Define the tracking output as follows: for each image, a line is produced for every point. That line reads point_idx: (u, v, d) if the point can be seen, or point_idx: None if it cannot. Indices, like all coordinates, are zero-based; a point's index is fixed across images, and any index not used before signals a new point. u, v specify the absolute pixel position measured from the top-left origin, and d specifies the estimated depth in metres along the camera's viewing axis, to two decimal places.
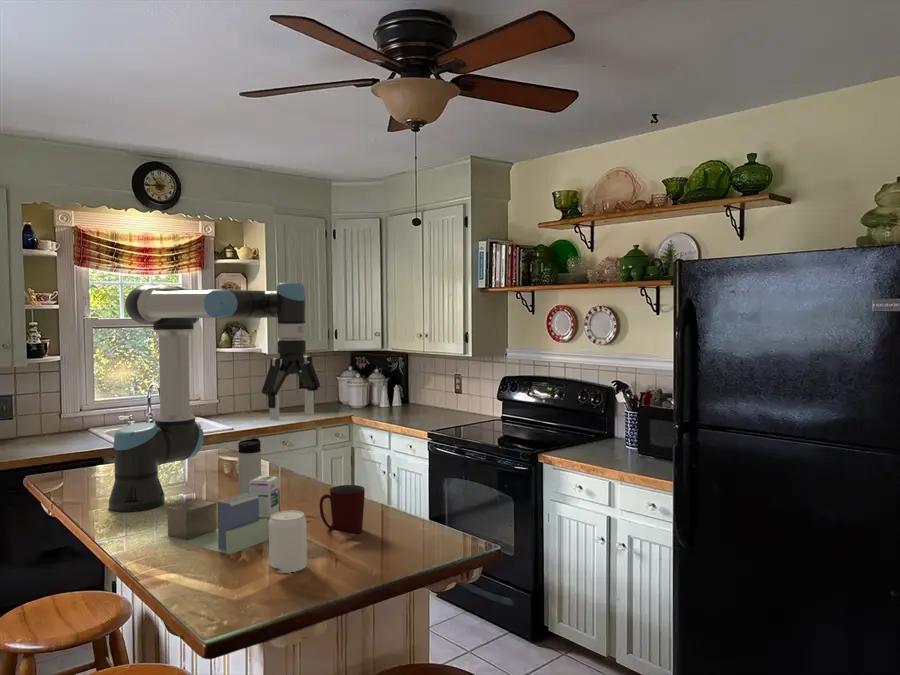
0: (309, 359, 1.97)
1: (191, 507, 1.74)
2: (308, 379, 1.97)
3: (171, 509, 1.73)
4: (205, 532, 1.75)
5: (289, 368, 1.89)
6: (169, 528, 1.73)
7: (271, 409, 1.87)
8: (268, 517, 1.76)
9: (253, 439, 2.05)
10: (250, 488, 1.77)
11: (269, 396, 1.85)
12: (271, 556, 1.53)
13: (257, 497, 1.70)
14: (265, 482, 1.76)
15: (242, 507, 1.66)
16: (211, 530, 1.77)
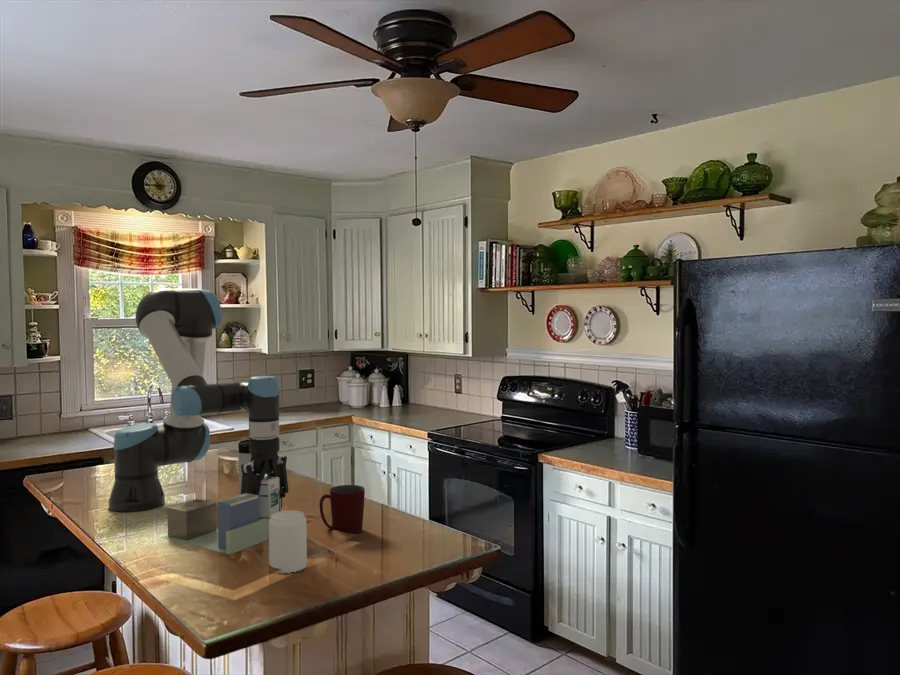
0: (283, 459, 1.83)
1: (191, 507, 1.74)
2: None
3: (171, 509, 1.73)
4: (205, 532, 1.75)
5: (263, 471, 1.76)
6: (169, 528, 1.73)
7: None
8: (268, 517, 1.76)
9: None
10: None
11: None
12: (271, 556, 1.53)
13: (257, 497, 1.70)
14: (265, 482, 1.76)
15: (242, 507, 1.66)
16: (211, 530, 1.77)
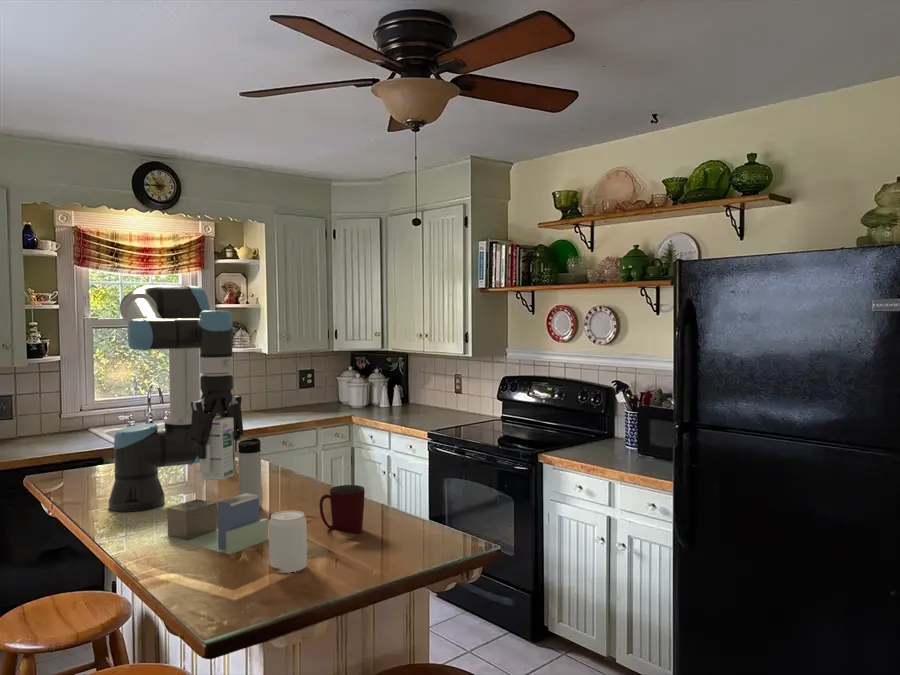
0: (238, 399, 1.74)
1: (191, 507, 1.74)
2: None
3: (171, 509, 1.73)
4: (205, 532, 1.75)
5: (214, 409, 1.67)
6: (169, 528, 1.73)
7: (201, 460, 1.67)
8: (220, 458, 1.67)
9: (253, 439, 2.05)
10: None
11: (199, 446, 1.66)
12: (271, 556, 1.53)
13: (257, 497, 1.70)
14: (217, 421, 1.67)
15: (242, 507, 1.66)
16: (211, 530, 1.77)
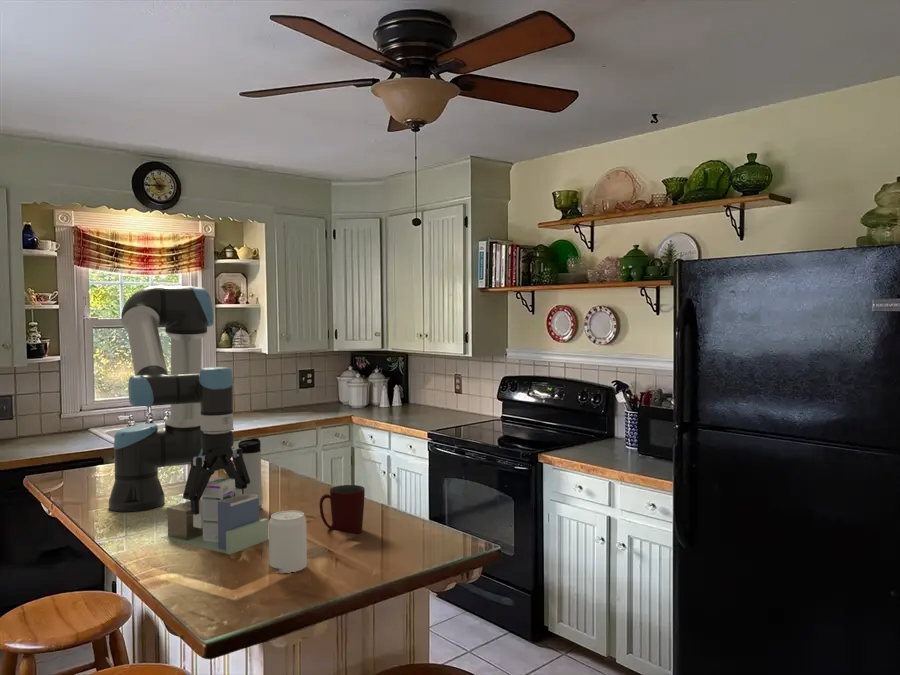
0: (239, 452, 1.75)
1: None
2: (236, 476, 1.74)
3: (171, 509, 1.73)
4: None
5: (214, 466, 1.67)
6: (169, 528, 1.73)
7: (195, 515, 1.66)
8: None
9: (253, 439, 2.05)
10: None
11: (192, 501, 1.64)
12: (271, 556, 1.53)
13: (257, 497, 1.70)
14: (217, 484, 1.68)
15: (242, 507, 1.66)
16: None
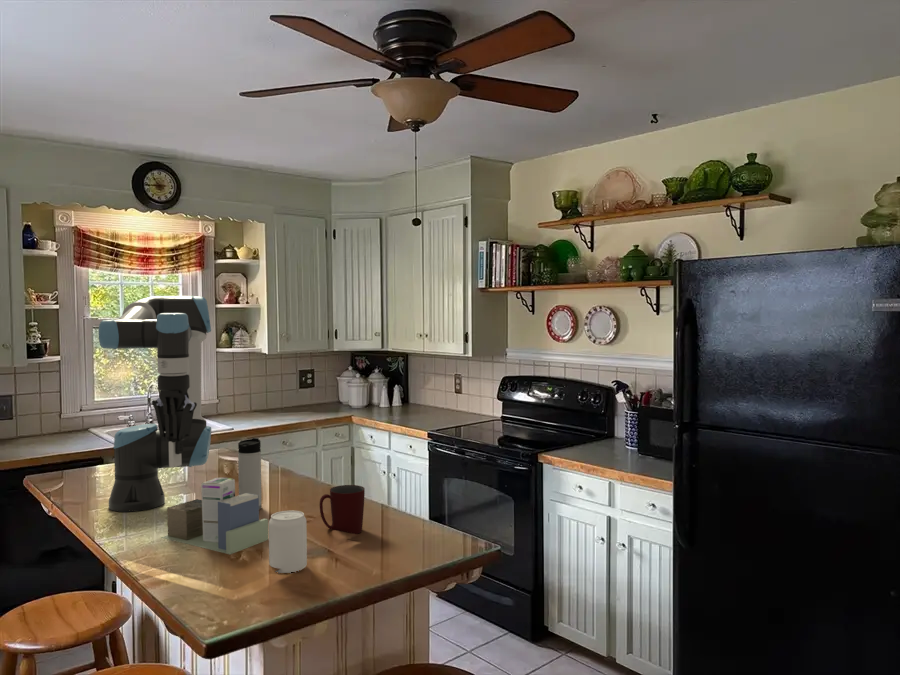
0: (186, 405, 1.75)
1: (191, 507, 1.74)
2: (174, 425, 1.77)
3: (171, 509, 1.73)
4: None
5: (164, 407, 1.77)
6: (169, 528, 1.73)
7: None
8: None
9: (253, 439, 2.05)
10: (202, 490, 1.69)
11: None
12: (271, 556, 1.53)
13: (257, 497, 1.70)
14: (217, 484, 1.68)
15: (242, 507, 1.66)
16: None
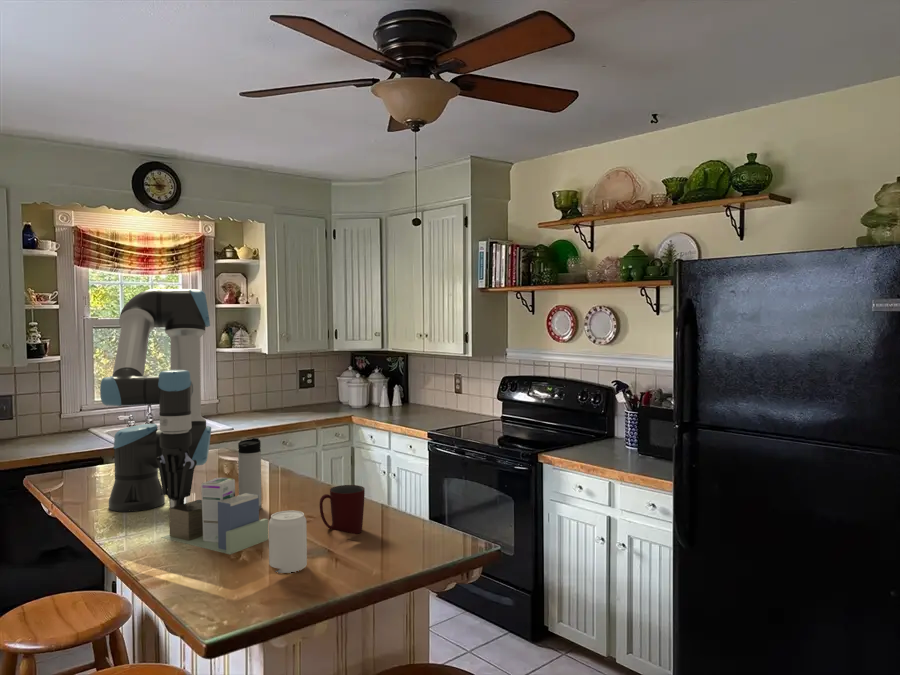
0: (186, 464, 1.74)
1: (193, 507, 1.73)
2: (175, 483, 1.76)
3: (173, 509, 1.72)
4: None
5: (166, 464, 1.77)
6: (171, 528, 1.73)
7: None
8: None
9: (253, 439, 2.05)
10: (202, 490, 1.69)
11: None
12: (271, 556, 1.53)
13: (257, 497, 1.70)
14: (217, 484, 1.68)
15: (242, 507, 1.66)
16: None
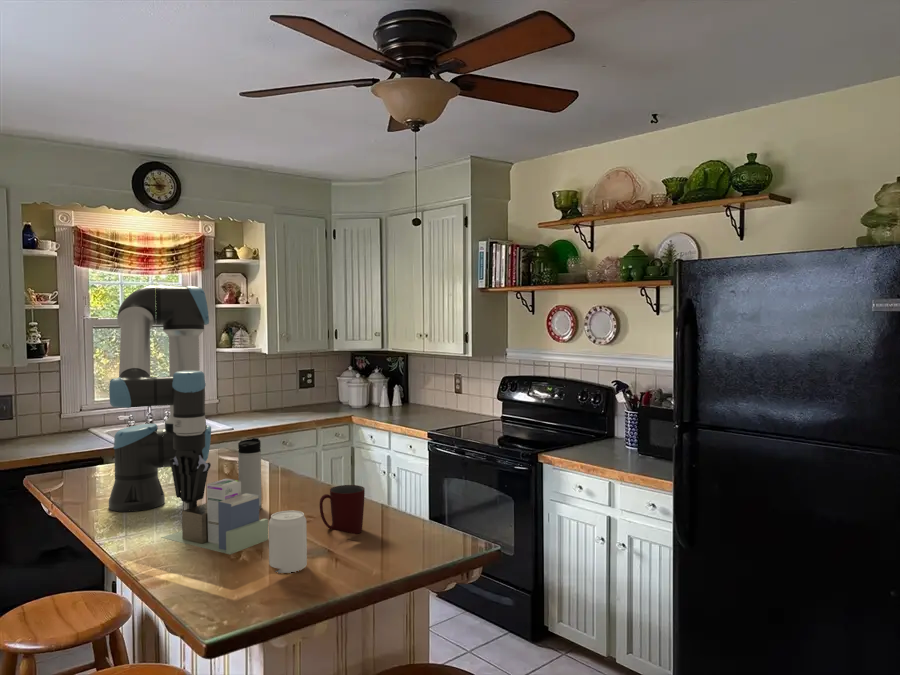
0: (199, 466, 1.72)
1: (206, 510, 1.71)
2: (188, 485, 1.74)
3: (186, 512, 1.70)
4: None
5: (179, 466, 1.75)
6: (184, 531, 1.71)
7: None
8: None
9: (253, 439, 2.05)
10: (207, 491, 1.68)
11: None
12: (271, 556, 1.53)
13: (257, 497, 1.69)
14: (220, 486, 1.66)
15: (243, 507, 1.65)
16: None
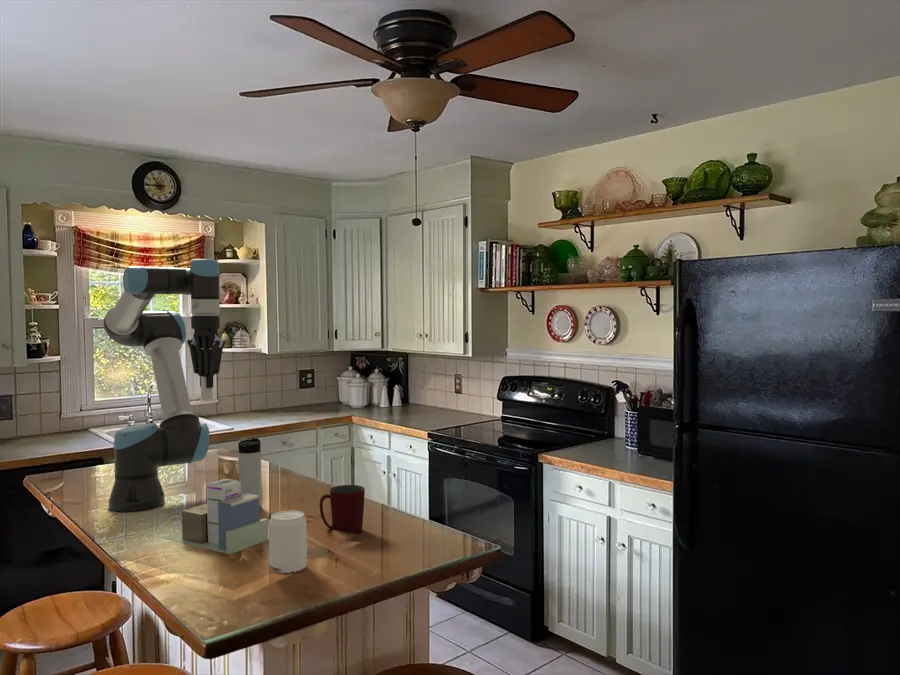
0: (215, 342, 1.92)
1: (206, 510, 1.71)
2: (205, 361, 1.95)
3: (186, 512, 1.70)
4: None
5: (197, 345, 1.95)
6: (184, 531, 1.71)
7: None
8: None
9: (253, 439, 2.05)
10: (207, 491, 1.68)
11: None
12: (271, 556, 1.53)
13: (257, 497, 1.69)
14: (220, 486, 1.66)
15: (243, 507, 1.65)
16: None
